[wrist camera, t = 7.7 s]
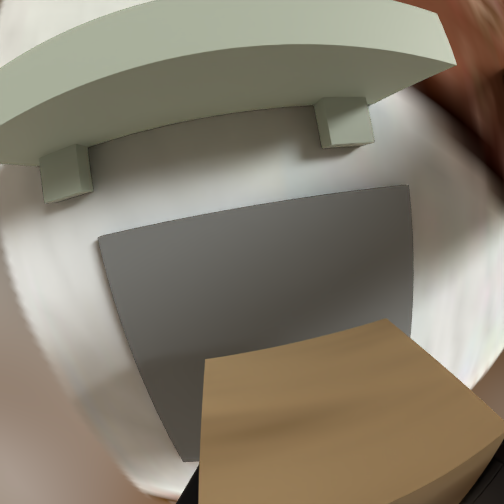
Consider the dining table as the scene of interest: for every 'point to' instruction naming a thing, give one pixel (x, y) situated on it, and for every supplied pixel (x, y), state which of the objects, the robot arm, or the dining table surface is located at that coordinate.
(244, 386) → the marked cube
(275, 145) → the dining table surface
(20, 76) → the sage screen
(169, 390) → the charcoal pad
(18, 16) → the dining table surface
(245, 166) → the dining table surface
